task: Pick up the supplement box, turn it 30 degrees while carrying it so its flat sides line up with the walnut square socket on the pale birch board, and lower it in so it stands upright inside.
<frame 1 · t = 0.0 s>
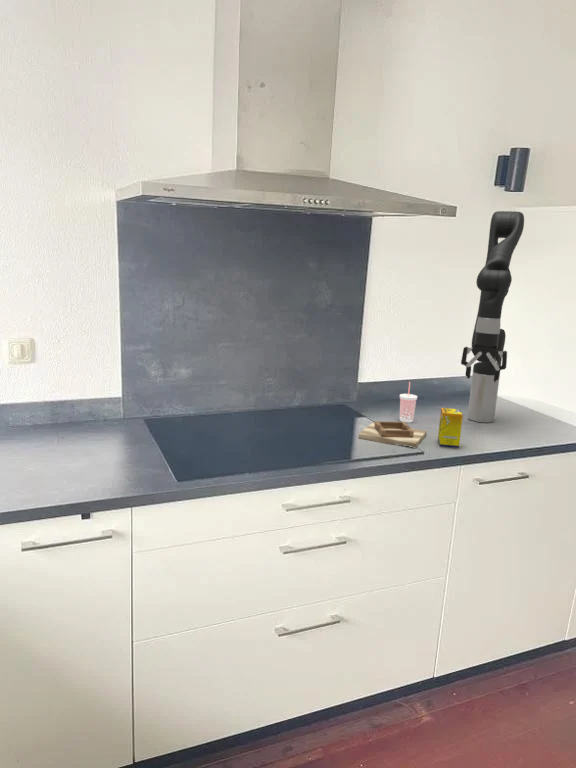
hand: (481, 379, 197), 17 cm above the countertop, tool pointing down, fingers open, 8 cm apart
supplement box: (447, 445, 183), on the countertop
beverage cup: (406, 421, 207), on the countertop
socket board: (392, 436, 188), on the countertop
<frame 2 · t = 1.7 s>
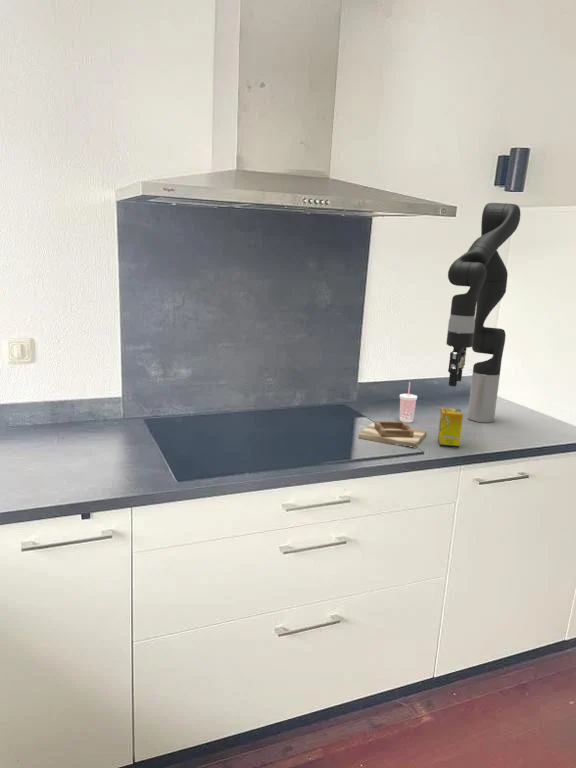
hand: (454, 383, 179), 20 cm above the countertop, tool pointing down, fingers open, 8 cm apart
nothing on the countertop moved.
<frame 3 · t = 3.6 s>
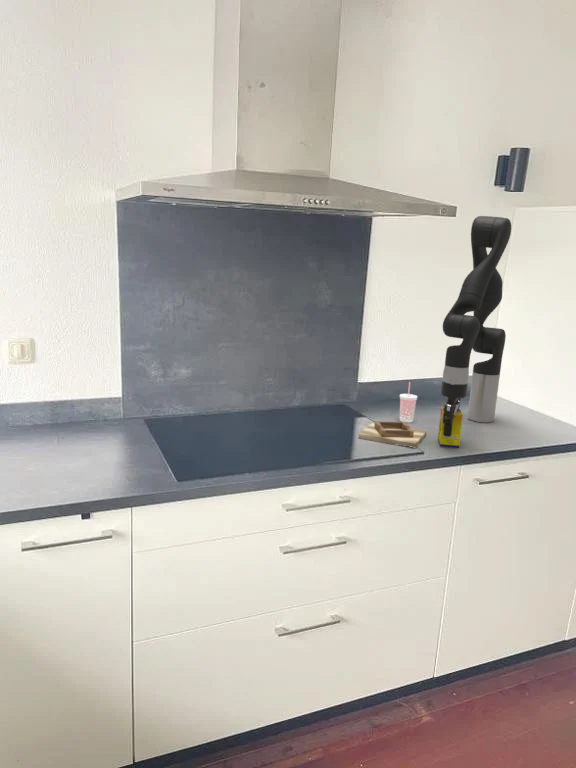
hand: (449, 432, 182), 4 cm above the countertop, tool pointing down, fingers closed on supplement box, 7 cm apart
supplement box: (447, 445, 183), on the countertop, touching gripper
everything else where it was.
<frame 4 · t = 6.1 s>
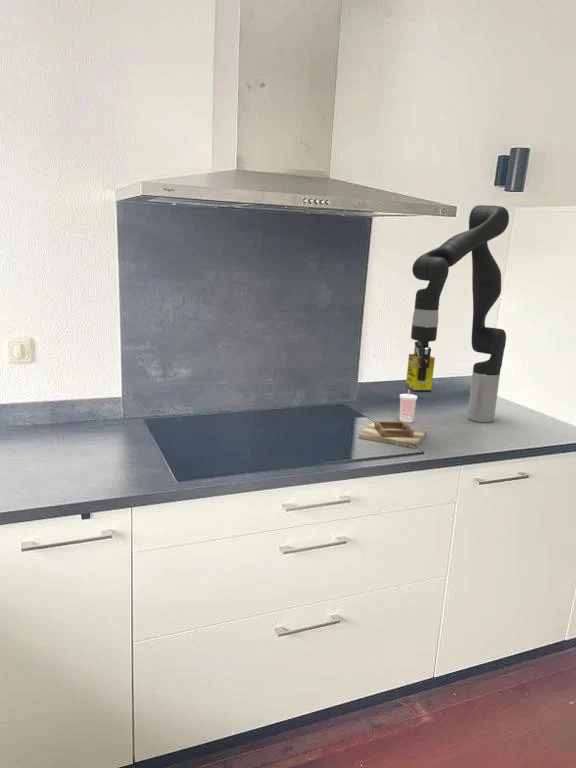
hand: (419, 377, 181), 20 cm above the countertop, tool pointing down, fingers closed on supplement box, 7 cm apart
supplement box: (418, 390, 182), point 16 cm above the countertop, touching gripper
everything else where it was.
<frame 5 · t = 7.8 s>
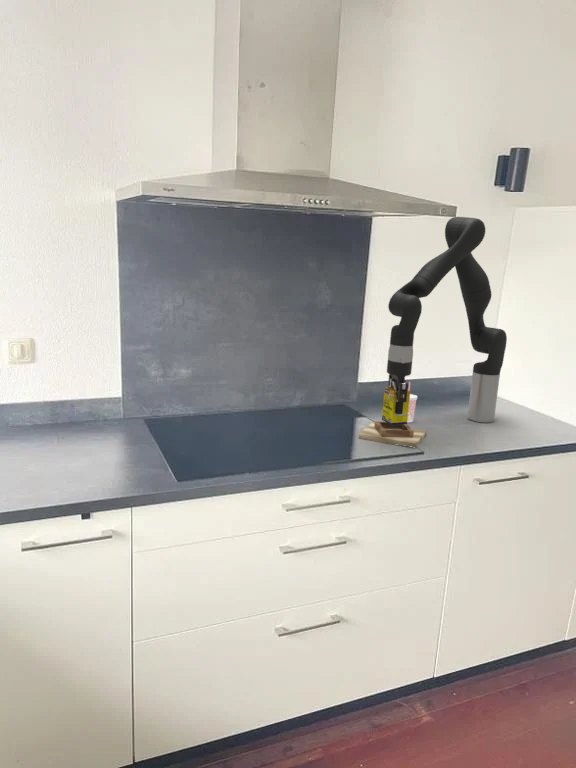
hand: (395, 410, 186), 9 cm above the countertop, tool pointing down, fingers closed on supplement box, 7 cm apart
supplement box: (394, 422, 187), point 5 cm above the countertop, touching gripper
everything else where it was.
when the fingers open (6 cm above the countertop, at t = 9.0 s): supplement box stays where it is, resting on socket board.
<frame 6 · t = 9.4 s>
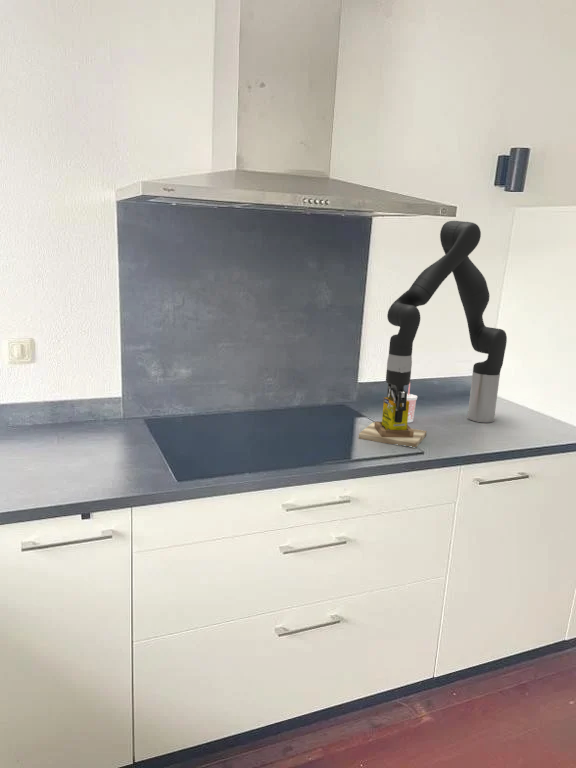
hand: (394, 418, 187), 6 cm above the countertop, tool pointing down, fingers open, 8 cm apart
supplement box: (393, 432, 188), point 1 cm above the countertop, touching socket board
everything else where it was.
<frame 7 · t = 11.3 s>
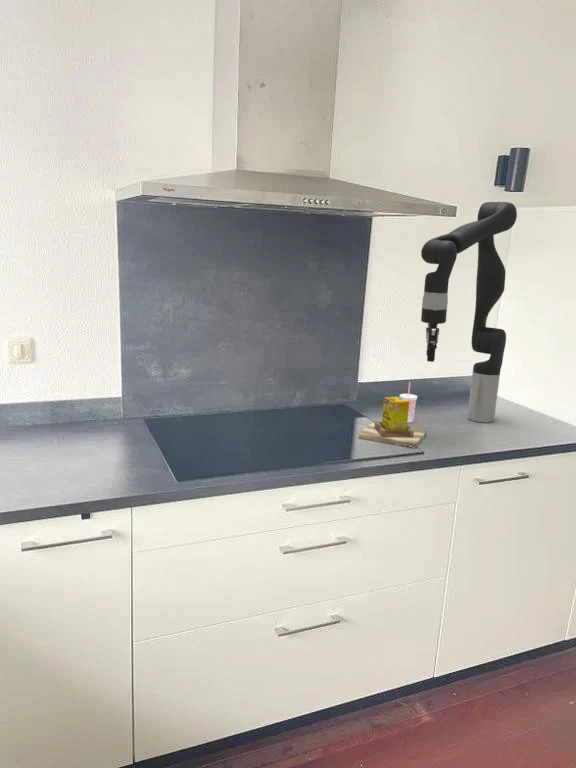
hand: (430, 358, 185), 25 cm above the countertop, tool pointing down, fingers open, 8 cm apart
nothing on the countertop moved.
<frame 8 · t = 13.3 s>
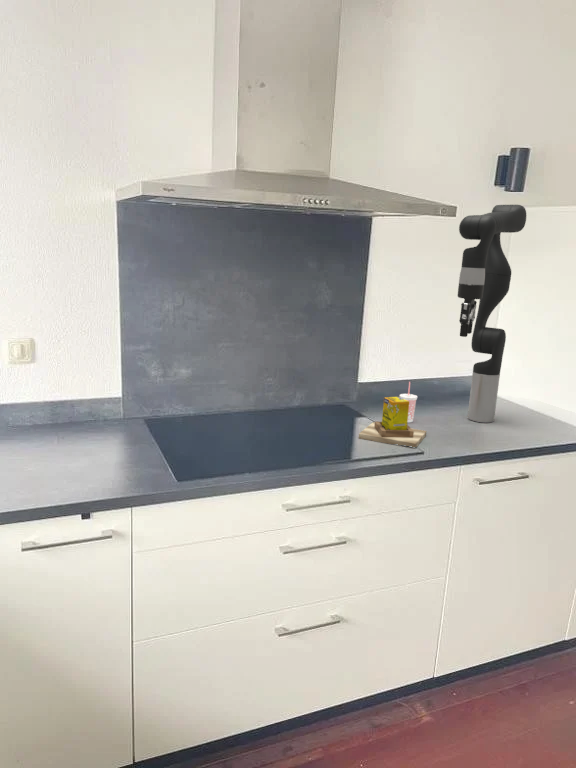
hand: (465, 334, 185), 33 cm above the countertop, tool pointing down, fingers open, 8 cm apart
nothing on the countertop moved.
at the end: supplement box 0.1 cm off-centre on the socket board, point 1.3 cm above the socket board's base; supplement box tilted 0°; the gripper is holding nothing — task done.
